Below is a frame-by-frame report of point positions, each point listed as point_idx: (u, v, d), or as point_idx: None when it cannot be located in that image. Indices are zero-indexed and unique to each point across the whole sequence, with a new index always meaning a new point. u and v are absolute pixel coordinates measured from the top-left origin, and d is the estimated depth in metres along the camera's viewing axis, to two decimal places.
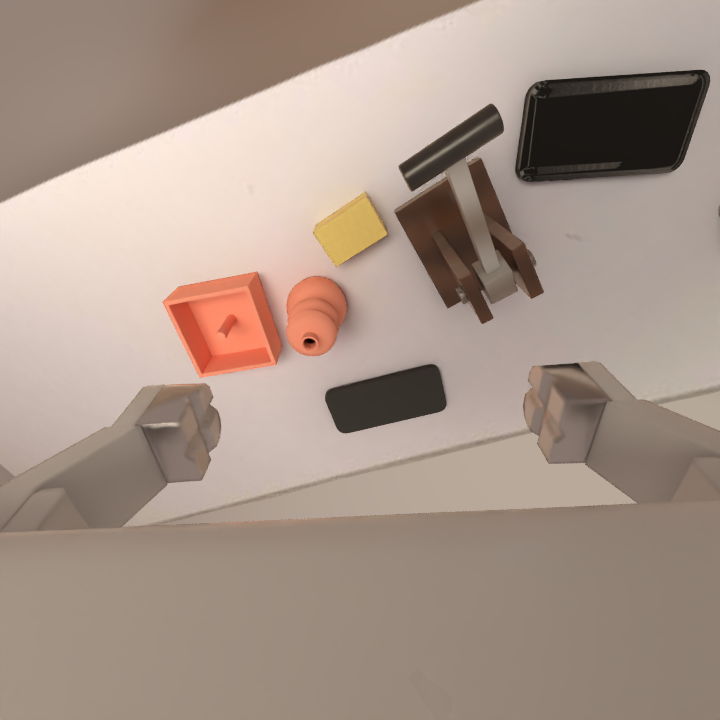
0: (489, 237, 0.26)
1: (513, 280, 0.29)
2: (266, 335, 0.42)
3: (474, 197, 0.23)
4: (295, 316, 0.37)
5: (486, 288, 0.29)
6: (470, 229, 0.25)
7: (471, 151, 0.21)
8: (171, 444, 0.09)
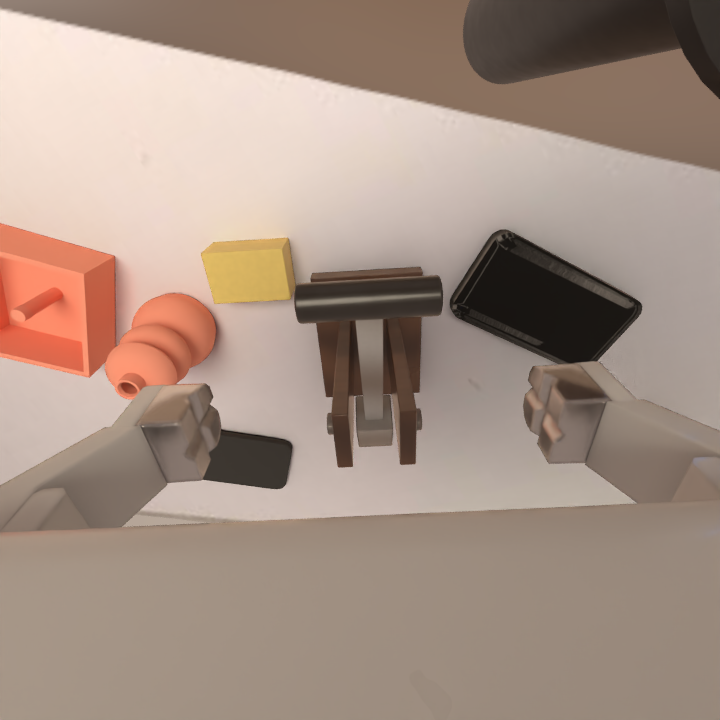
0: (381, 394, 0.21)
1: (390, 437, 0.25)
2: (89, 339, 0.31)
3: (378, 356, 0.18)
4: (126, 346, 0.27)
5: (358, 434, 0.24)
6: (362, 380, 0.20)
7: (392, 317, 0.15)
8: (171, 444, 0.09)
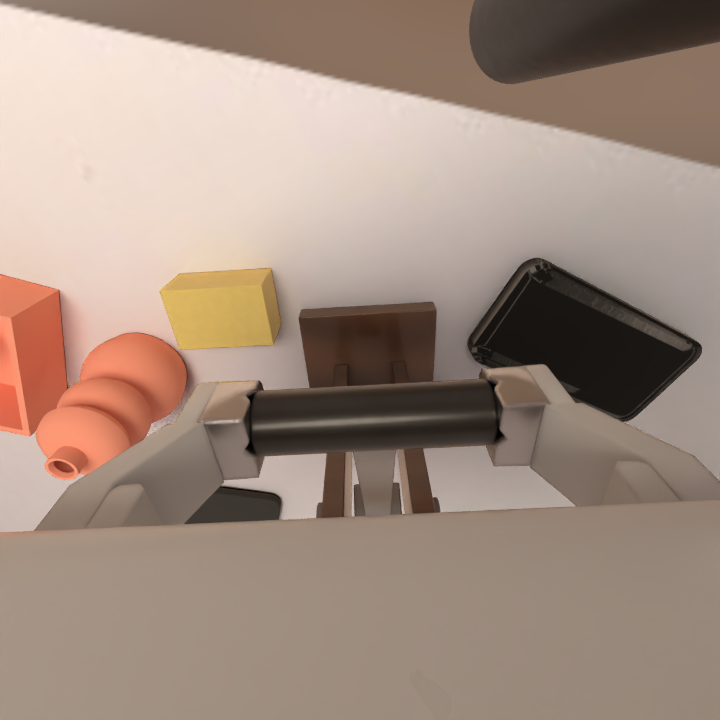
0: (389, 503, 0.15)
1: None
2: (26, 393, 0.25)
3: (387, 476, 0.12)
4: (60, 412, 0.21)
5: None
6: (362, 494, 0.14)
7: None
8: (232, 441, 0.08)
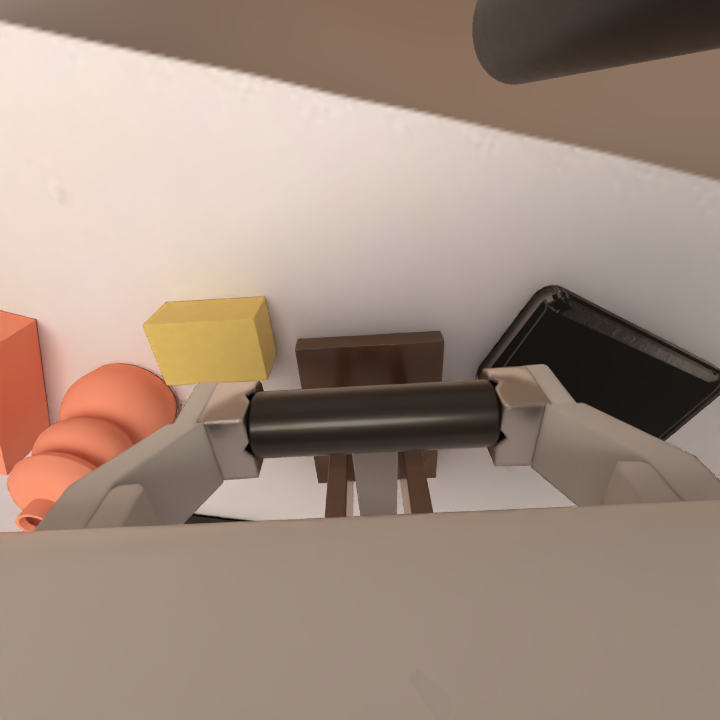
0: None
1: None
2: (1, 432, 0.23)
3: (390, 503, 0.11)
4: (33, 461, 0.19)
5: None
6: None
7: (414, 449, 0.09)
8: (231, 441, 0.08)
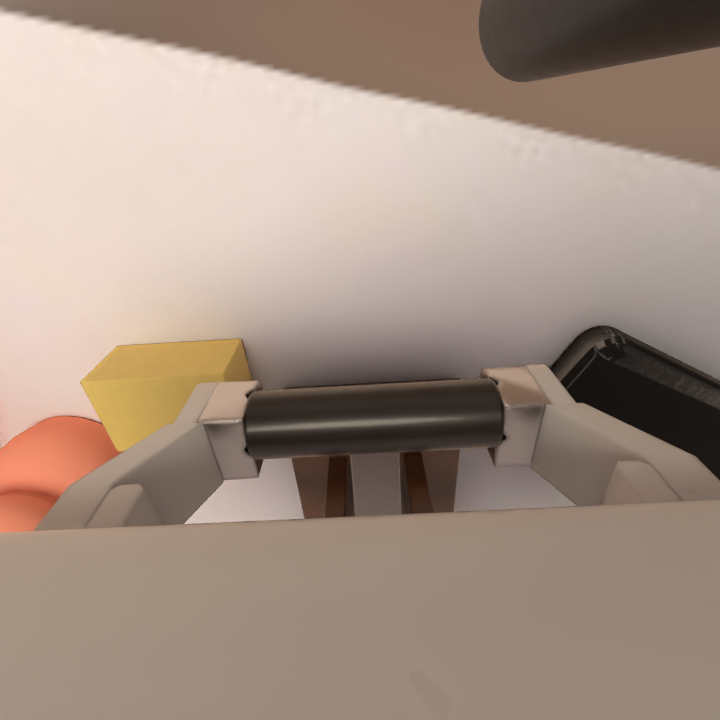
0: None
1: None
2: None
3: None
4: None
5: None
6: None
7: (416, 447, 0.08)
8: (231, 441, 0.08)
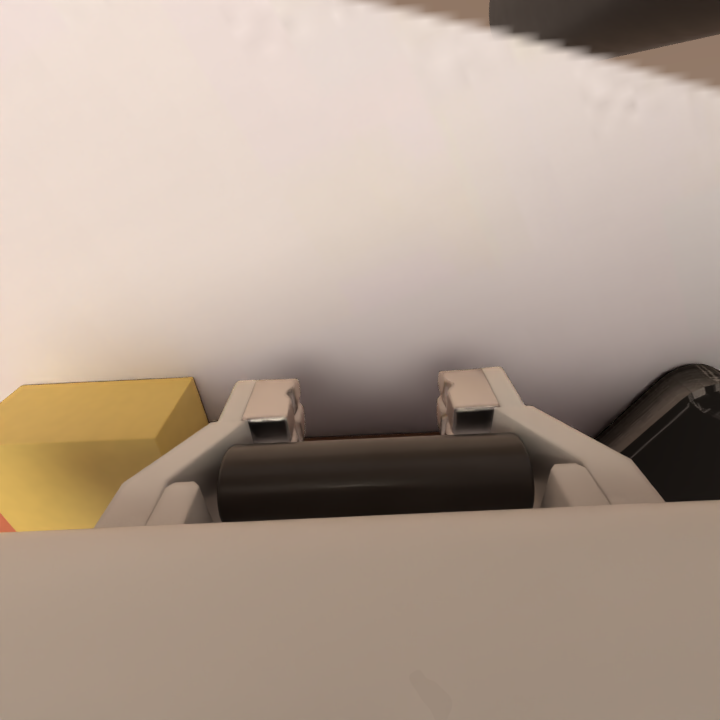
0: None
1: None
2: None
3: None
4: None
5: None
6: None
7: (427, 512, 0.07)
8: (274, 439, 0.08)
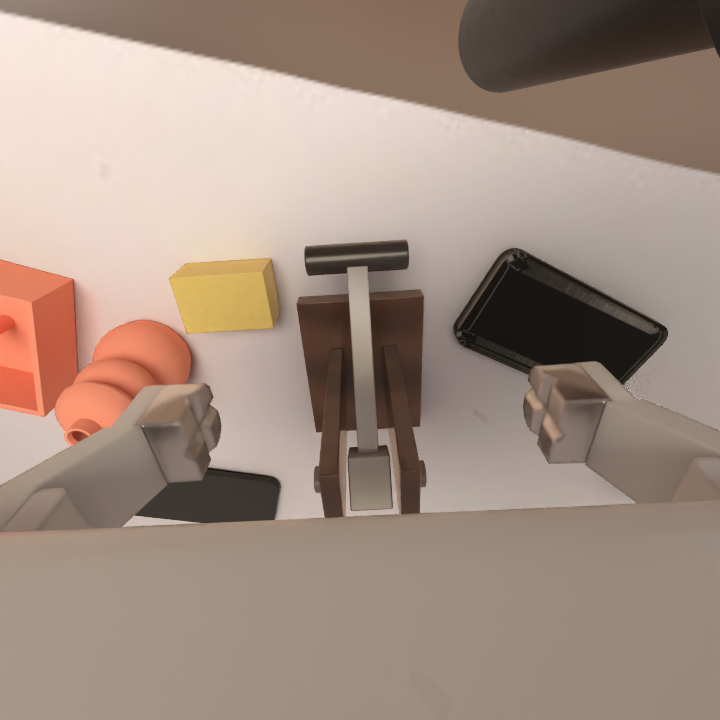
0: (373, 388, 0.21)
1: (389, 479, 0.20)
2: (42, 375, 0.27)
3: (367, 319, 0.21)
4: (78, 387, 0.23)
5: (349, 467, 0.20)
6: (353, 360, 0.21)
7: (374, 261, 0.21)
8: (171, 444, 0.09)
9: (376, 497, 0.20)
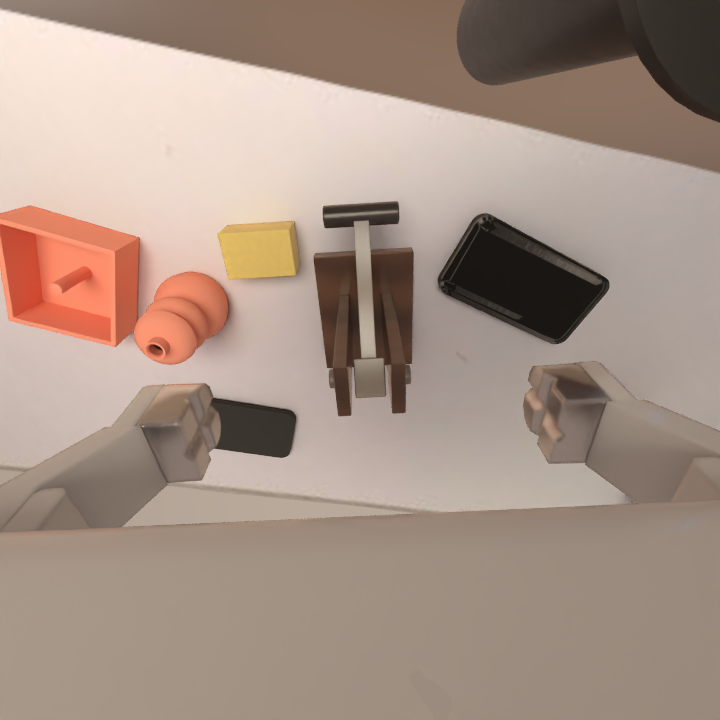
0: (372, 310, 0.29)
1: (383, 375, 0.28)
2: (116, 312, 0.35)
3: (368, 259, 0.28)
4: (153, 313, 0.31)
5: (355, 366, 0.28)
6: (358, 290, 0.29)
7: (373, 216, 0.28)
8: (171, 444, 0.09)
9: (374, 388, 0.28)
